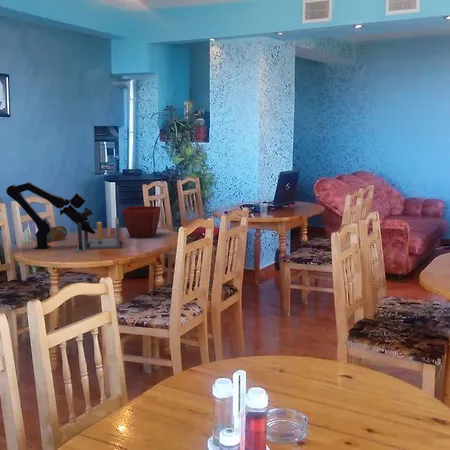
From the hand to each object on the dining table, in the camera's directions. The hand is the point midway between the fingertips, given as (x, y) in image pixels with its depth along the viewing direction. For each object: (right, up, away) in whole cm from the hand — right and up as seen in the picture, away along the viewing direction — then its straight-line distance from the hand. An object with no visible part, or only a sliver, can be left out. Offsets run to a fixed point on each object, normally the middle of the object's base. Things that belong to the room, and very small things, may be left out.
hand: (94, 233), depth 338 cm
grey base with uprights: (+5, -6, +2) cm, 8 cm away
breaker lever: (+3, -4, +1) cm, 5 cm away
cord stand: (-6, -7, 0) cm, 9 cm away
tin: (-26, -5, +16) cm, 31 cm away
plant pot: (+22, -2, +30) cm, 37 cm away
